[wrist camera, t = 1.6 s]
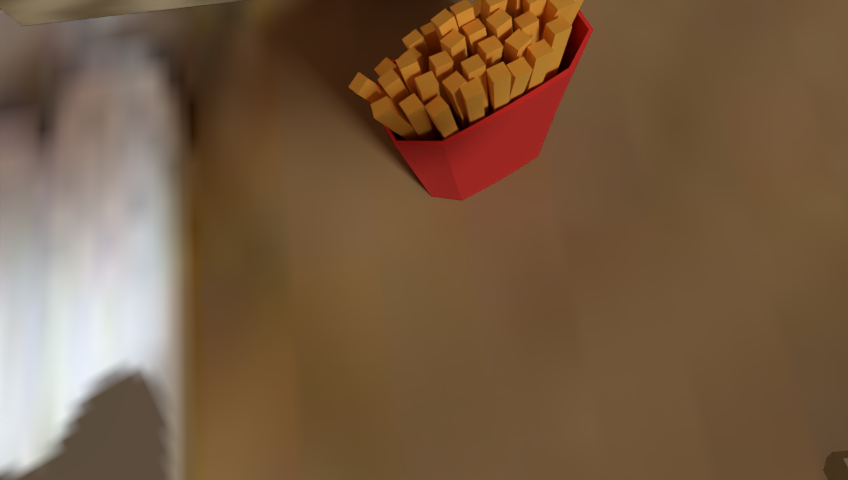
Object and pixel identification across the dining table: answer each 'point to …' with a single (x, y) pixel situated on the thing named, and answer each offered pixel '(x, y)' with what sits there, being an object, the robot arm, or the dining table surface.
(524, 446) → the dining table surface
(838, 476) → the robot arm
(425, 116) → the french fries
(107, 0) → the caddy
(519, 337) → the dining table surface
